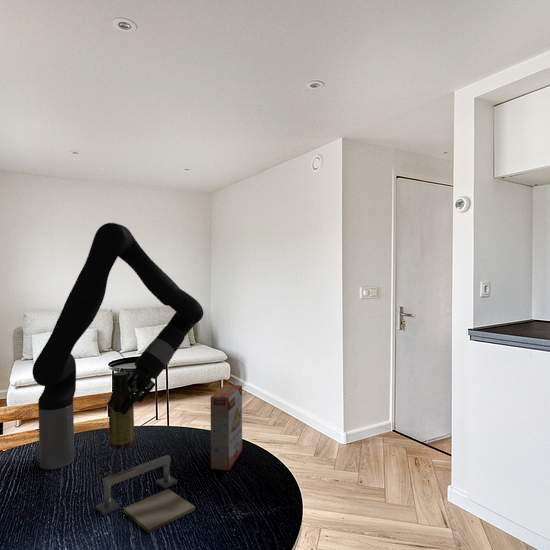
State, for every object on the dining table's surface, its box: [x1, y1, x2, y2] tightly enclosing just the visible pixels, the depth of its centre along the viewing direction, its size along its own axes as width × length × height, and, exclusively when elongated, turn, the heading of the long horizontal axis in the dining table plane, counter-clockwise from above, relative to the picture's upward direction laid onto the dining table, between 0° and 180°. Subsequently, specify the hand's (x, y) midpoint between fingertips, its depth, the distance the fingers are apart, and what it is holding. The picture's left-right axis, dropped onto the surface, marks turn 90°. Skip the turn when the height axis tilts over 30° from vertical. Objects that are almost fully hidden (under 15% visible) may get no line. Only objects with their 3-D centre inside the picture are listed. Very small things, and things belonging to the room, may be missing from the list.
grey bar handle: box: [95, 454, 178, 516], centre depth 105 cm, size 4×20×7 cm, turn 136°
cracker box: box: [210, 384, 243, 471], centre depth 125 cm, size 14×6×21 cm, turn 168°
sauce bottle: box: [108, 370, 135, 451], centre depth 112 cm, size 7×6×20 cm
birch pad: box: [122, 488, 196, 534], centre depth 98 cm, size 12×12×1 cm
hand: (115, 409), depth 111 cm, fingers closed on sauce bottle, 6 cm apart
